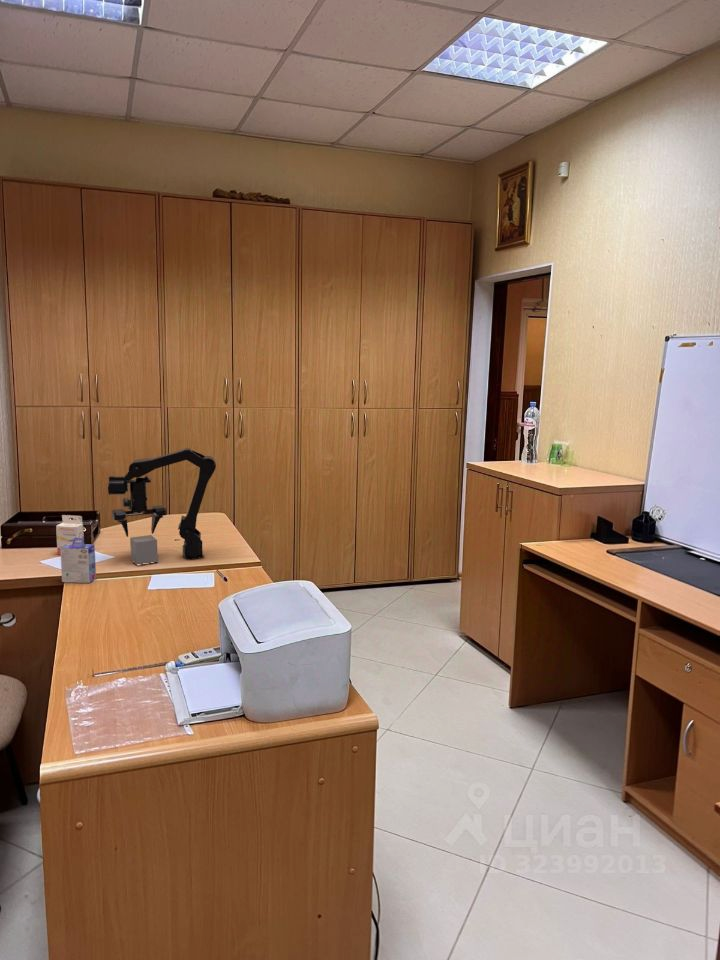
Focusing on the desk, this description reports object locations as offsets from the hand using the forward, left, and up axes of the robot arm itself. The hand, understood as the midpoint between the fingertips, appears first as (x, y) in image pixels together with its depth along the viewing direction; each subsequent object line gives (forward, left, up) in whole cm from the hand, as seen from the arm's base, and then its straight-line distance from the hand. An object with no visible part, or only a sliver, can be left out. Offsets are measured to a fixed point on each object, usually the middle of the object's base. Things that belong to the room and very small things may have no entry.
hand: (139, 535), depth 253 cm
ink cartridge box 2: (+24, +14, -10) cm, 29 cm away
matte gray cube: (0, +4, -9) cm, 10 cm away
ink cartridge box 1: (+22, -18, -10) cm, 30 cm away
